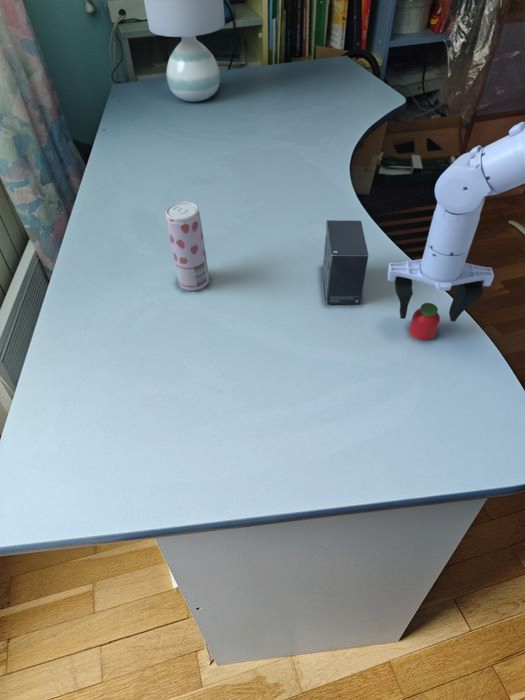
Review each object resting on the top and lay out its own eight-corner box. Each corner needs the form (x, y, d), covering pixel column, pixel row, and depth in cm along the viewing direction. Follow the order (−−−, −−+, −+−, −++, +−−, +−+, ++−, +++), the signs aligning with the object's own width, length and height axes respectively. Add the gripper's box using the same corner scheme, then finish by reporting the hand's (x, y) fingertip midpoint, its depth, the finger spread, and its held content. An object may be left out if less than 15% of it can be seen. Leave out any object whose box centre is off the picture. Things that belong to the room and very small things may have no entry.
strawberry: (434, 323, 81) (441, 300, 77) (437, 341, 78) (445, 318, 74) (408, 321, 81) (414, 298, 77) (410, 339, 78) (416, 316, 74)
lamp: (241, 88, 157) (231, -78, 127) (211, 114, 143) (192, -65, 114) (182, 81, 163) (160, -79, 133) (148, 105, 149) (115, -67, 120)
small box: (362, 305, 84) (370, 255, 76) (325, 305, 84) (329, 256, 77) (356, 267, 91) (362, 218, 84) (321, 268, 92) (324, 219, 84)
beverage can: (183, 271, 92) (170, 199, 81) (212, 273, 91) (203, 201, 81) (175, 290, 88) (159, 218, 78) (205, 293, 88) (194, 220, 77)
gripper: (396, 258, 65) (381, 330, 75) (509, 263, 63) (479, 336, 73) (393, 229, 70) (379, 300, 80) (498, 233, 68) (471, 305, 78)
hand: (427, 315), depth 77 cm, fingers open, 7 cm apart
